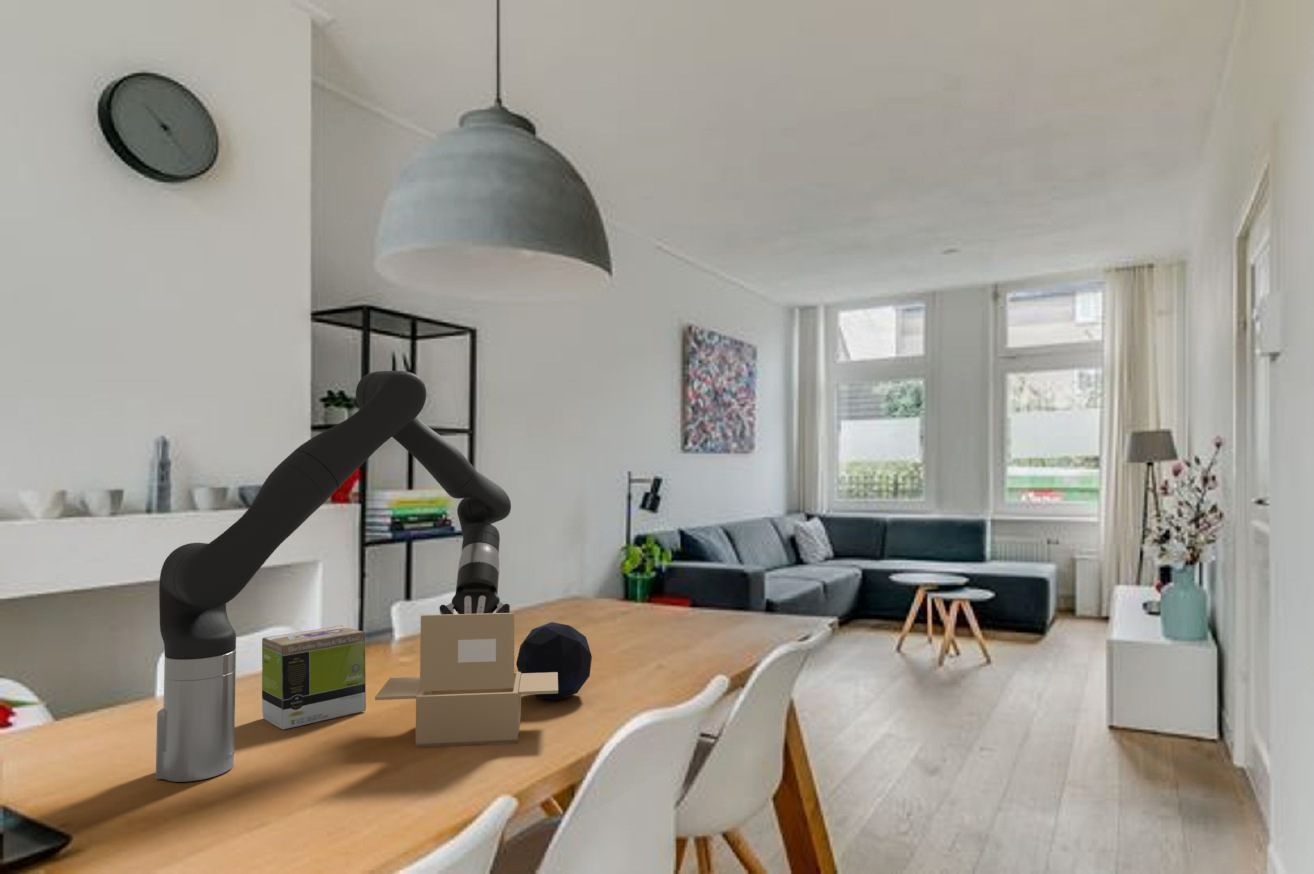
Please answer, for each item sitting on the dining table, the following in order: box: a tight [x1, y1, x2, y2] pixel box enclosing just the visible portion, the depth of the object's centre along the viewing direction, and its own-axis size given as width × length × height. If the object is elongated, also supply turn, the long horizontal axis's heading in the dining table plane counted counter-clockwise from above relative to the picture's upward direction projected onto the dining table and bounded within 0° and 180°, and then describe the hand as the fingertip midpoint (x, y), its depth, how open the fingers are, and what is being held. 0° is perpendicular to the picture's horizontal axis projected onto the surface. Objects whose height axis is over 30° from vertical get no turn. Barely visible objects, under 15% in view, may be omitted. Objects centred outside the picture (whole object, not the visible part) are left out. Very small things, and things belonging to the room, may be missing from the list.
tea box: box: [261, 625, 367, 730], centre depth 147 cm, size 15×10×15 cm
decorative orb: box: [515, 621, 593, 702], centre depth 158 cm, size 14×15×15 cm
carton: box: [374, 671, 558, 749], centre depth 138 cm, size 29×15×8 cm, turn 97°
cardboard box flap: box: [419, 612, 516, 691], centre depth 131 cm, size 15×1×12 cm, turn 97°
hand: (471, 653), depth 140 cm, fingers closed
